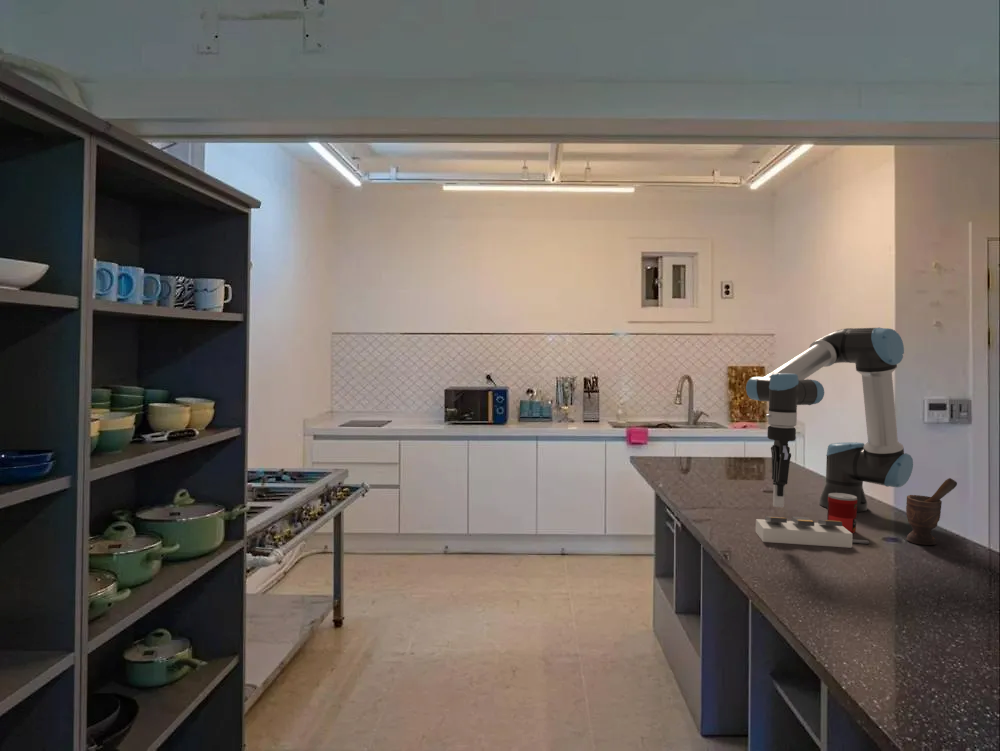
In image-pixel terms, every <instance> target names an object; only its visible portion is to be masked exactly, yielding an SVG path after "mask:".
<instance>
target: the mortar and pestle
mask: <svg viewBox="0 0 1000 751" xmlns="http://www.w3.org/2000/svg"><path fill="white" fill-rule="evenodd" d="M957 485H958V482H957V481H956V480H955V479H953V478H950V477H949V478H946V479H945V480H944V482H942V483H941V485H940V486H939V487H938V488H937V490H936V491H935V492H934V494H933V495H931V496H927V495H921V494H919V495H918V494H908V495H906V504H905V505H906V506H905V515H906V518H907V523H908V524H909V525H910V526H911V528H912V531H910V532H909V533H908V534H907V535H906V537H905V540H906V541H908V542H910V543H912V544H917V545H921V546H933V545H937V541H936V538H935V537H934V536H933V535H932V534H931V533H932V530H934V529H936V528H937V526H938V523H939V521H940V520H941V519H940V518H941V512H942V502H943V501H942V500H941V499H943V498H944V497H945V496H946V495H948V494H950V492H951V491H952V490H954V489H955V488H956V487H957Z"/></svg>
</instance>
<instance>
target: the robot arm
mask: <svg viewBox="0 0 1000 751" xmlns="http://www.w3.org/2000/svg"><path fill="white" fill-rule="evenodd" d="M904 354H905V348H904V342H903V339H902V337H901V335H900V334H899V333H898V332H897V331H896V330H895V329H893V328H890V327H889V328H884V327H861V328H860V327H857V328H854V327H853V328H852V327H851V328H849V327H848V328H841V329H837V330H835V331H833V332H830V333H828V334H825V335H823V336H821V337H820V338H817V339H816V340H814V341H813V342H811V344H810V345H809V347H808V348H807V349H806V350H804V351H803V352H801V353H800V354H798V355H796V356H795V357H794V358H792V359H790V360H789V361H787V362H786V363H783V364H782V365H781V366H779V367H777V368H776V369H774V370H773V371H771V372H770V373H768V374H766V375H764V376H759V375H758V376H753V377H752V376H751V377H750V378H749V379H748V380H747V381H746V384H745V385H746V386H745V391H746V395H747V396H748V398H749V399H751V400H754V401H759V402H768V413H767V414H766V417H767V419H768V421H767V423H768V425H769V426H768V427H767V434H766V435H767V436H766V437H767V438H768V439H769V440H772V441H773V444H772V445H771V447H770V452H771V479H772V485H773V489H772V490H773V491H772V492H773V494H772V506H773V507H774V508H784V507H785V493H786V492H785V491H786V487H785V486H786V485H788V484H789V483H788V481H789V479H788V478H789V472H790V462H791V459H792V453H791V452H790V451H791V449H790V446H789V442H794V441H795V440H796V436H797V429H796V427H797V423H798V422H797V418H798V416H797V415H798V412H797V410H798V406H806V405H807V406H813V405H816V404H819V403H820V402H821V401H822V400H823V399H824V396H825V388H824V386H823V384H822V383H821V382H820V381H818V380H815V379H809V378H808V377H810V376H812V375H813V374H814V373H816V372H817V371H819V370H821V369H823V367H825V368H827V367H830V366H833V365H834V364H841V363H842V364H843V363H849V364H855V371H856V372H857V373H859V374H860V375H861V382H862V390H863V400H864V402H863V403H864V413H865V423H866V434H867V443H864V442H857V441H856V442H855V441H854V442H834V443H830V444H829V445H828V446H827V448H826V449H827V451H826V455H825V456H826V466H825V484H824V486H823V489H822V491H821V494H820V496H819V502H818V503H819V505H820V506H822V507H824V508H825V509H826V508H827V509H828V494H830V493H845V494H850V495H854V496H856V497H857V512H858V513H860V512H866V511H867V510H868V501H867V497H866V494H865V491H864V486H863V483H864V482H865V483H870V484H873V485H874V484H875V485H880V486H885V487H890V488H901V487H903V486H905V485H906V484H907V483H908V481H909V480H910V477H911V475H912V473H913V468H914V459H913V457H912V456H911V455H910V454H909V453H906V452H905V449H904V445H903V444H902V443H901V442H899V441H898V430H897V429H898V428H897V419H896V416H897V415H896V406H895V394H894V383H893V382H894V381H893V380H894V379H893V372H894V371H895V370H896V369H897V368H898V366H897V365H898V364H900V363H901V362H902V360H903V358H904Z"/></svg>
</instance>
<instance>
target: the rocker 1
mask: <svg viewBox="0 0 1000 751" xmlns="http://www.w3.org/2000/svg"><path fill="white" fill-rule="evenodd" d="M764 520H766V521H770V522H782V523H787V521H788V520H787V517H782V516H780V517H779V516H765V517H764Z"/></svg>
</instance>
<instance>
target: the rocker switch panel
mask: <svg viewBox="0 0 1000 751" xmlns="http://www.w3.org/2000/svg"><path fill="white" fill-rule="evenodd" d="M755 533H756V535H757V536H758V537H759V539H760V540H761V541H762V543H776V544H792V545H805V546H807V545H808V546H821V547H822V546H823V547H836V548H837V547H838V548H847V549H848V548H851V549H852V548H853V544H861V545H862V544H863V545H864V544H865V545H869V544H870V542H869V540H868V539H854V538H853V534H854V533H851V532H850V531H848V530H847V529H846V528H845V527H843V526H830V525H822V524H818V522H814V526H804V525H797V524H796V523H794V522H793V521H792V520H787V523H782V522H770V521H766V520H765V518H763V519H759V518H756V519H755Z"/></svg>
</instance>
